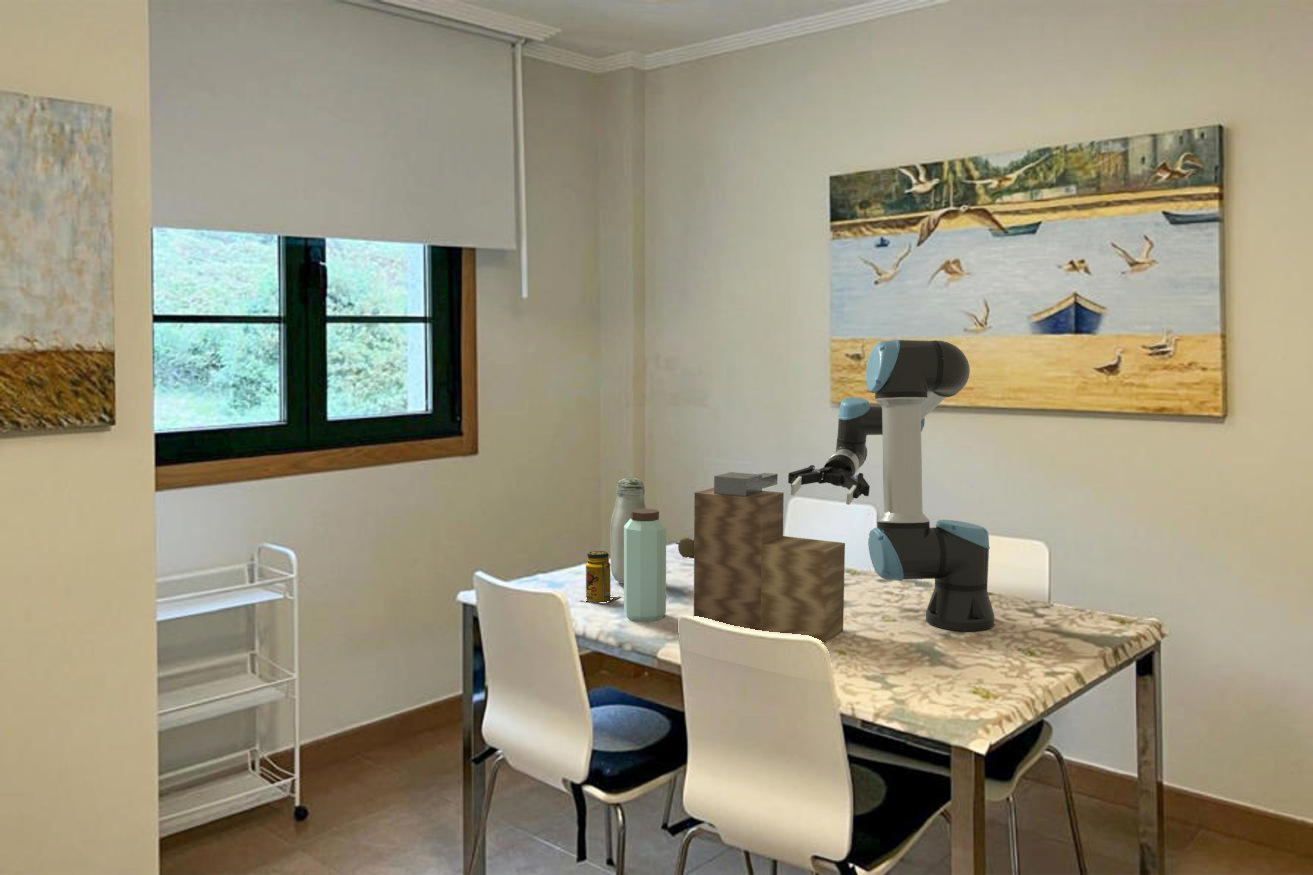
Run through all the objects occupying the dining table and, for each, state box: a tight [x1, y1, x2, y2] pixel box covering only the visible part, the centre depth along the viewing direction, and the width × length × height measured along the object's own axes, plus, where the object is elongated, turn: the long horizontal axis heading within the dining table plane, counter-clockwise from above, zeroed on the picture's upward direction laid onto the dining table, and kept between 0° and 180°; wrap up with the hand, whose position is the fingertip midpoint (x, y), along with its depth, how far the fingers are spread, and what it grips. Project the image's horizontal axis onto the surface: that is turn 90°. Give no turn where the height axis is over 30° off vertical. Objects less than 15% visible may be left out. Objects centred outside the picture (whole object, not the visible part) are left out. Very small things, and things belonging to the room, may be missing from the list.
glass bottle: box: [609, 477, 647, 584], centre depth 287 cm, size 10×10×28 cm
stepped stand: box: [693, 487, 846, 644], centre depth 246 cm, size 32×11×30 cm, turn 59°
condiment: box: [580, 550, 622, 605], centre depth 271 cm, size 7×8×12 cm
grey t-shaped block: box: [713, 471, 778, 497], centre depth 253 cm, size 8×21×4 cm, turn 149°
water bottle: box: [623, 508, 667, 622], centre depth 254 cm, size 10×10×25 cm
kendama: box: [675, 537, 694, 559], centre depth 322 cm, size 6×10×20 cm
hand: (820, 494), depth 261 cm, fingers open, 13 cm apart
